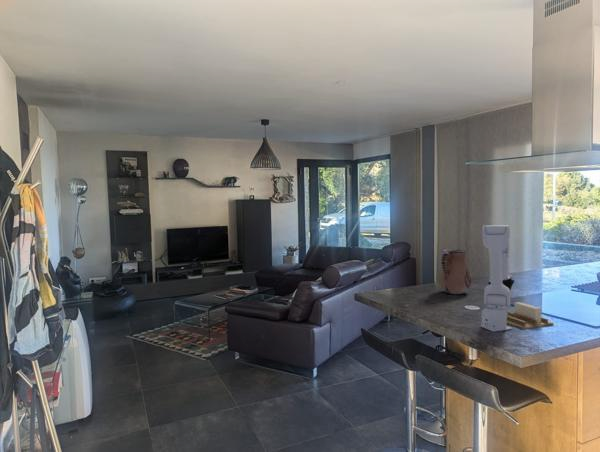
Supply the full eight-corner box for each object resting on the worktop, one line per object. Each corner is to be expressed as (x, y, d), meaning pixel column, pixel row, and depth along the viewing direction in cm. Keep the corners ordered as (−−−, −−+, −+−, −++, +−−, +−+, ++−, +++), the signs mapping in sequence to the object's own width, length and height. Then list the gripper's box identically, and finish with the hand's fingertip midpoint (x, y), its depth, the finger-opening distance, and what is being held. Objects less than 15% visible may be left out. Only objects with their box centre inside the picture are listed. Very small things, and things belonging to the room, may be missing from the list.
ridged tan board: (522, 329, 175) (522, 323, 175) (492, 318, 193) (492, 312, 192) (553, 325, 179) (553, 319, 179) (521, 314, 197) (521, 309, 196)
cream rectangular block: (535, 322, 180) (535, 308, 180) (514, 315, 192) (514, 302, 191) (541, 322, 181) (541, 308, 181) (519, 315, 192) (519, 302, 192)
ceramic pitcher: (475, 291, 247) (475, 249, 245) (462, 298, 231) (461, 253, 230) (446, 288, 258) (445, 247, 257) (431, 294, 243) (431, 251, 241)
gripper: (499, 269, 187) (499, 299, 187) (519, 266, 194) (519, 295, 195) (485, 267, 193) (485, 297, 194) (505, 264, 200) (505, 292, 201)
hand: (501, 296), depth 195 cm, fingers open, 7 cm apart
